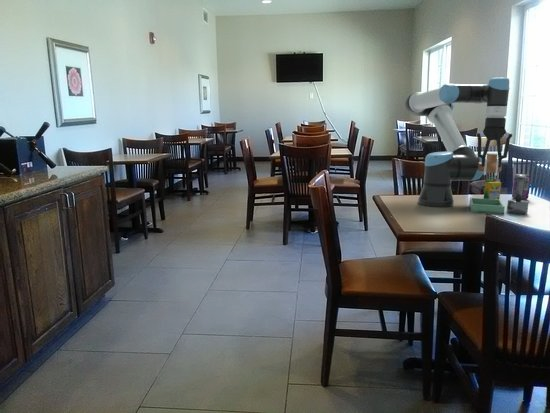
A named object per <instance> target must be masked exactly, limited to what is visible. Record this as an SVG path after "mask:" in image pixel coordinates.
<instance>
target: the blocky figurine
mask: <svg viewBox="0 0 550 413" xmlns="http://www.w3.org/2000/svg"><path fill="white" fill-rule="evenodd" d="M516 177H518V180H517V189H516V198H515V199H508V200H507V206H506V213H507V214H510V215H515V216H516V215H517V216H526V215H528V210H529V201H528V200H521V199H522V190H523V181H524V178H525V177H526V175H516Z"/></svg>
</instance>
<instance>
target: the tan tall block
mask: <svg viewBox="0 0 550 413" xmlns="http://www.w3.org/2000/svg"><path fill="white" fill-rule="evenodd" d="M486 159H487V168H486V173H494V174H495V173H496V164H497V159H498V153H488V152H487V155H486ZM481 164H482V162H479V163H478V170H479V171H484V167H482V165H481ZM502 166H503V165H502V163H501V167H498V171H497V173H501V172H502Z"/></svg>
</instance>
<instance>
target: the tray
mask: <svg viewBox="0 0 550 413" xmlns="http://www.w3.org/2000/svg"><path fill="white" fill-rule="evenodd" d="M483 198H484V197H483ZM483 198H482V197H481V198H479V197H469V203H468V204H469V209H470V212H471V213H480V214H481V213H484V214H494V215H495V214H497V215H498V214H499V215H505V208H506V207H505V204H504V203H503V201H502V200H501V199H500V198H499V199H483Z"/></svg>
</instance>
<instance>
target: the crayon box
mask: <svg viewBox="0 0 550 413" xmlns="http://www.w3.org/2000/svg"><path fill="white" fill-rule="evenodd" d="M484 183H485V184H484V190H483V199H499V200H500V198H501V197H500V196H501V190H502V188H501V187H502V182H501V181H497V176H495V177H485V182H484Z"/></svg>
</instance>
